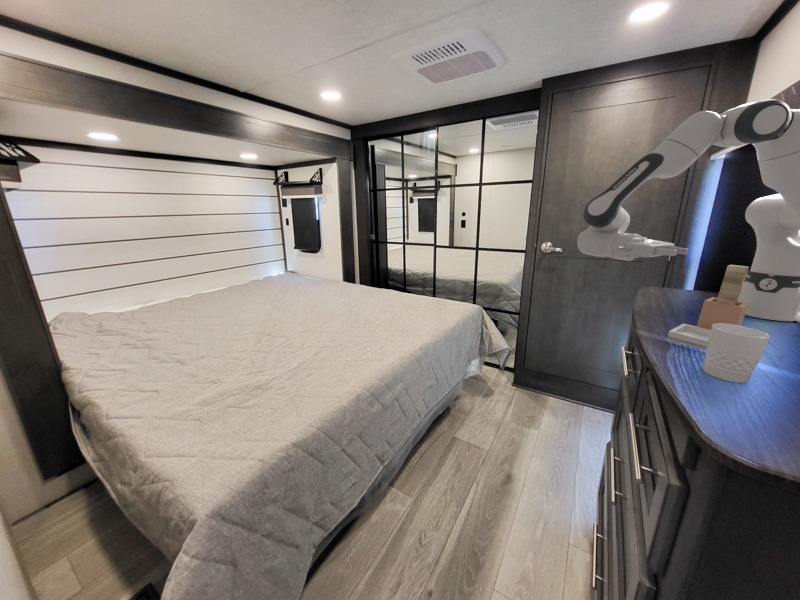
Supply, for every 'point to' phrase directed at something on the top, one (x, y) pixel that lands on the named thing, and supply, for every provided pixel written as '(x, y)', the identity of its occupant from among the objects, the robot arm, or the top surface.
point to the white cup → (733, 352)
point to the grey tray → (690, 336)
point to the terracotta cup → (721, 313)
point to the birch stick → (732, 284)
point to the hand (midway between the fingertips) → (681, 252)
